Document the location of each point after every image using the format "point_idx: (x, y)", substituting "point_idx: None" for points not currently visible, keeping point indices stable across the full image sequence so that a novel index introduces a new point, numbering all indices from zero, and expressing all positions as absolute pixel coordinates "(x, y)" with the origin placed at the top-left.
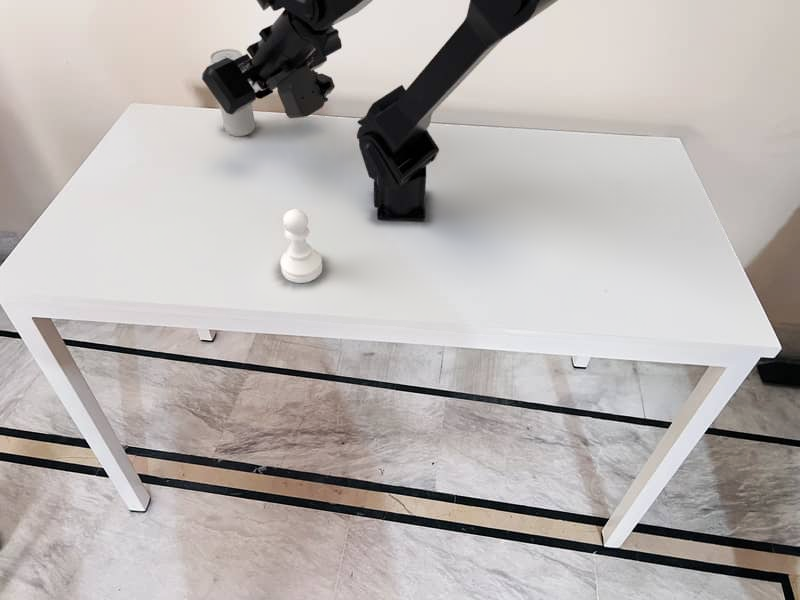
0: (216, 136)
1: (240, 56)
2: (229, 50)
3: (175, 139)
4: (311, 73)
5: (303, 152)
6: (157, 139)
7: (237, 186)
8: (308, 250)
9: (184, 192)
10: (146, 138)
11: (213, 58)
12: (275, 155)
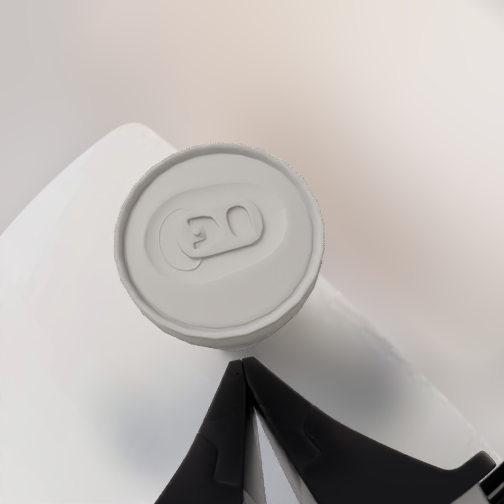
0: None
1: (299, 278)
2: (276, 168)
3: (103, 252)
4: None
5: None
6: (82, 231)
7: (121, 487)
8: None
9: (42, 424)
10: (74, 216)
11: (143, 202)
12: None
